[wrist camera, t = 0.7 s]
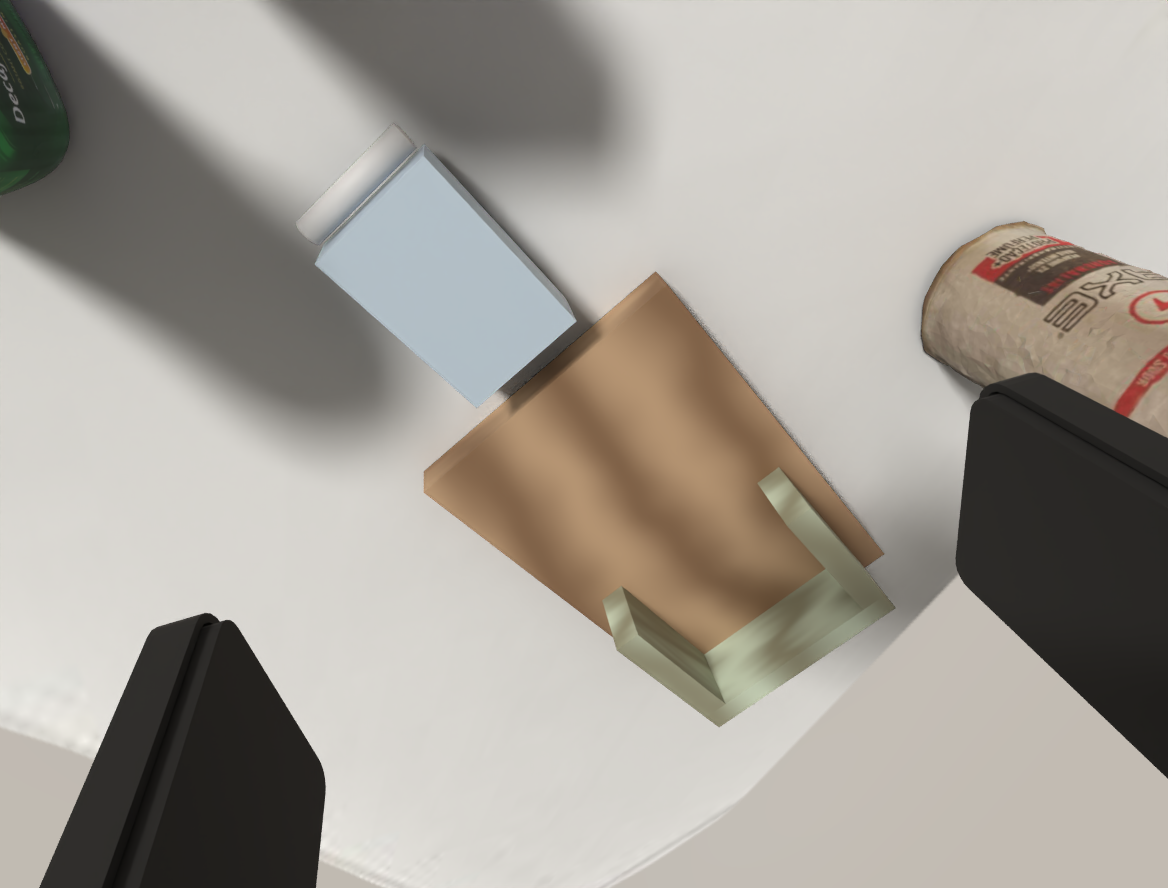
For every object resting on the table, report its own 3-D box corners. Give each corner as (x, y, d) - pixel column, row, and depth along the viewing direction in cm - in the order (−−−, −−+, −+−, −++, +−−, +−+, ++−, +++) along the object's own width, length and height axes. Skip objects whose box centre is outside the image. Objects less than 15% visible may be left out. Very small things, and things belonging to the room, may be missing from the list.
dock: (655, 271, 35) (693, 314, 30) (868, 534, 47) (920, 597, 42) (424, 471, 39) (423, 540, 33) (676, 669, 50) (704, 743, 45)
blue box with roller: (398, 111, 30) (395, 125, 26) (561, 289, 35) (576, 321, 31) (301, 211, 31) (284, 237, 27) (471, 369, 36) (476, 408, 32)
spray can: (1083, 219, 38) (1603, 385, 21) (1027, 362, 42) (1423, 595, 25) (941, 218, 37) (1380, 395, 20) (897, 366, 41) (1228, 617, 24)
